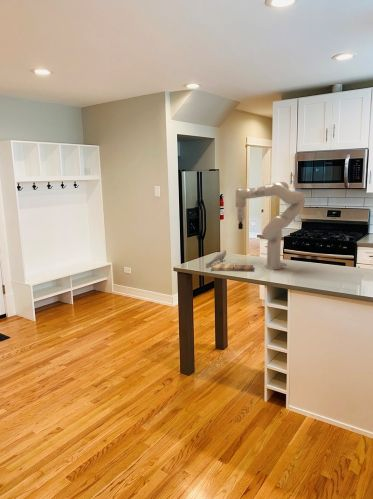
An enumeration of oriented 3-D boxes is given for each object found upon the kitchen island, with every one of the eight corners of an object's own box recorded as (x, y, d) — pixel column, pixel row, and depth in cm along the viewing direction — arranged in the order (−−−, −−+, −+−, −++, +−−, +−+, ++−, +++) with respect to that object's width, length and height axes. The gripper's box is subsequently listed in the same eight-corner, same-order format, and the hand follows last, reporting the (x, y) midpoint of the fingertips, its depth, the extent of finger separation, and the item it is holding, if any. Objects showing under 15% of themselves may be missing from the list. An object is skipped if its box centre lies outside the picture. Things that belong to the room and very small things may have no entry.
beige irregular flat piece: (233, 267, 282) (233, 264, 282) (232, 270, 271) (232, 268, 271) (213, 266, 285) (213, 264, 285) (211, 270, 274) (211, 267, 274)
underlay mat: (254, 268, 280) (254, 267, 280) (254, 272, 267) (254, 271, 267) (213, 266, 286) (213, 266, 286) (210, 271, 274) (210, 270, 274)
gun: (226, 258, 308) (225, 249, 305) (208, 273, 285) (207, 263, 282) (224, 258, 309) (223, 249, 306) (206, 272, 286) (205, 263, 283)
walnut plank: (253, 267, 279) (253, 265, 279) (252, 271, 269) (252, 268, 268) (235, 267, 282) (235, 264, 281) (234, 270, 271) (234, 268, 271)
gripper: (245, 205, 280) (245, 230, 283) (246, 204, 294) (246, 227, 297) (234, 205, 281) (234, 230, 285) (236, 204, 296) (236, 227, 299)
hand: (240, 228), depth 291 cm, fingers closed
